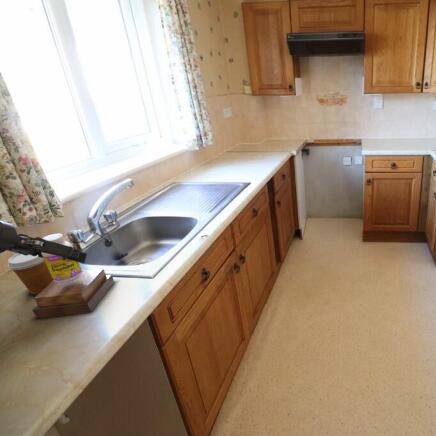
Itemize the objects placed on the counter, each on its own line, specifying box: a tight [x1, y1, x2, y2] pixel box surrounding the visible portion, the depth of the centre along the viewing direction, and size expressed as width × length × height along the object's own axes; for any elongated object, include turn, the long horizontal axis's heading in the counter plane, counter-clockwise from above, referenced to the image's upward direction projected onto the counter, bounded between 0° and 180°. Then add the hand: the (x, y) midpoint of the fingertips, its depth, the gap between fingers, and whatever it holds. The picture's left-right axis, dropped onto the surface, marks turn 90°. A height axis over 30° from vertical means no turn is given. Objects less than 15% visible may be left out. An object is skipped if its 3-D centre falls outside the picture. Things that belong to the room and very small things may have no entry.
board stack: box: [32, 268, 115, 319], centre depth 94 cm, size 14×14×6 cm
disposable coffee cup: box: [7, 253, 53, 295], centre depth 98 cm, size 10×10×12 cm
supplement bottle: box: [41, 233, 83, 283], centre depth 89 cm, size 7×7×13 cm
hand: (73, 257), depth 93 cm, fingers closed on supplement bottle, 7 cm apart
